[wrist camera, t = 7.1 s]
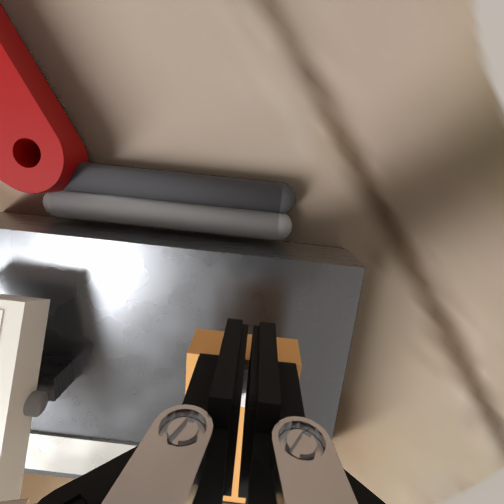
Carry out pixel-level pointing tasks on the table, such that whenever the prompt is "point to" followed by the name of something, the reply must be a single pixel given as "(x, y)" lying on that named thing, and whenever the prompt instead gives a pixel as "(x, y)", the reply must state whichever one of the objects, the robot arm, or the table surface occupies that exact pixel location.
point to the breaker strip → (162, 322)
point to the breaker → (19, 384)
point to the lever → (32, 123)
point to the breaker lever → (211, 344)
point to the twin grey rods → (175, 201)
